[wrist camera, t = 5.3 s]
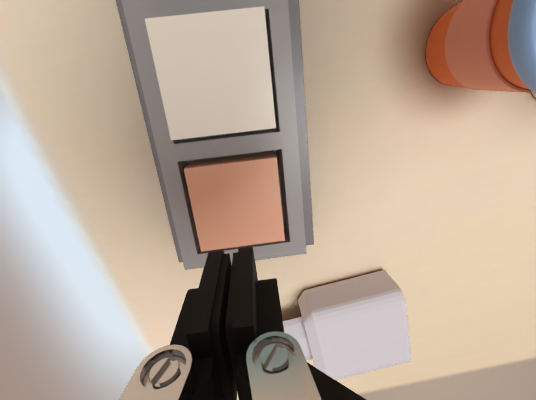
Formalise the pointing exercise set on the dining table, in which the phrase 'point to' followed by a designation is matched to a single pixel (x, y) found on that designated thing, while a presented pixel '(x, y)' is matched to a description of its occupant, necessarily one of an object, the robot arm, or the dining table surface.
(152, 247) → the dining table surface
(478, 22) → the cup with straw
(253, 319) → the robot arm
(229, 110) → the cream key
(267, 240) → the terracotta key
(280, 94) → the keypad
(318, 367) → the charger
